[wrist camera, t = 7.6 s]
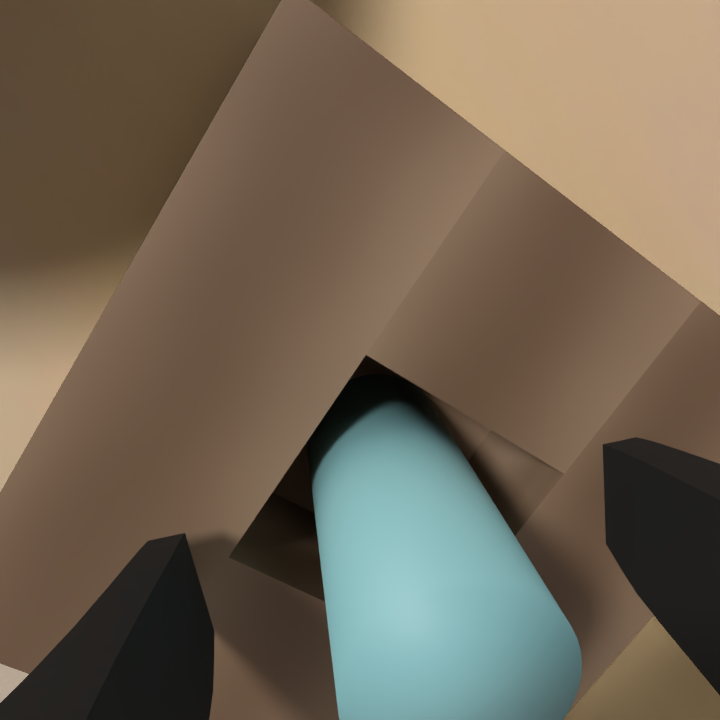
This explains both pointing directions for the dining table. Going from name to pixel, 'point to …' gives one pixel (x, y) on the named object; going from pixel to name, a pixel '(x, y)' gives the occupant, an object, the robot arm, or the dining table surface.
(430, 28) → the dining table surface
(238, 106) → the socket block
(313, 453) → the peg
